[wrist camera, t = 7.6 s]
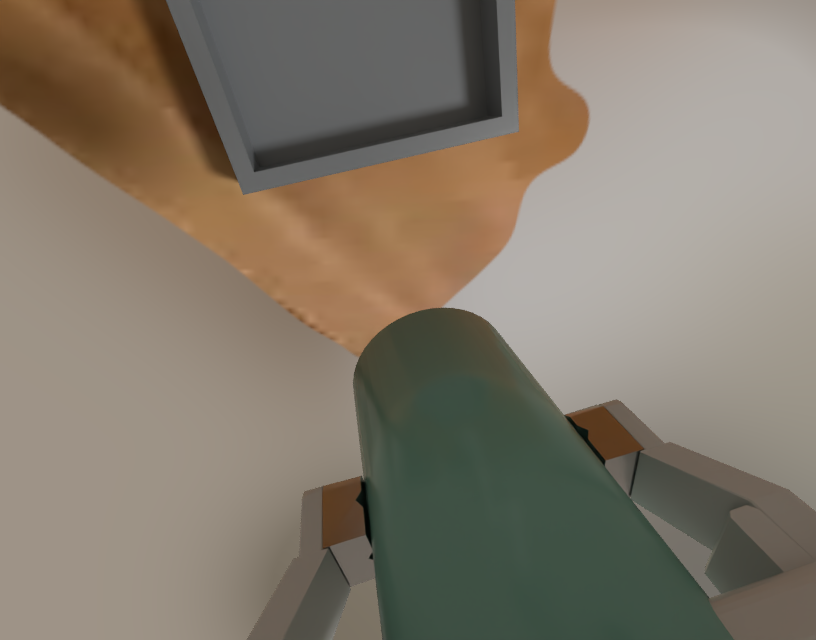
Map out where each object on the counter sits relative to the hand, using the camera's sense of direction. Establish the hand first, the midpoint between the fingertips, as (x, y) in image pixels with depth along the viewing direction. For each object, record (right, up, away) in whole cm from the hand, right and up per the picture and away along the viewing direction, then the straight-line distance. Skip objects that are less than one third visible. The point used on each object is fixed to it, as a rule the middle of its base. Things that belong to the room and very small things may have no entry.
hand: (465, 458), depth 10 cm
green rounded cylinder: (-1, +2, +3) cm, 4 cm away
